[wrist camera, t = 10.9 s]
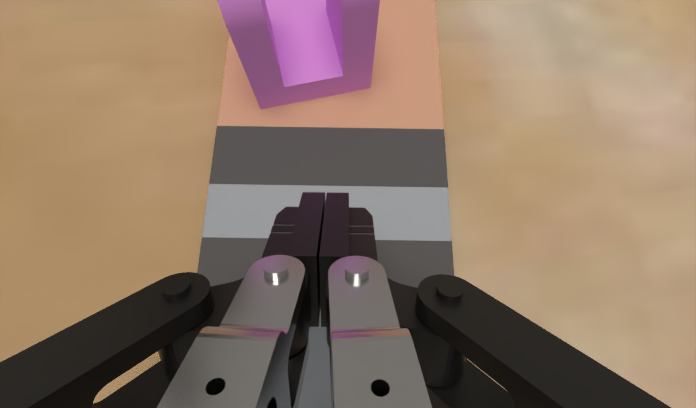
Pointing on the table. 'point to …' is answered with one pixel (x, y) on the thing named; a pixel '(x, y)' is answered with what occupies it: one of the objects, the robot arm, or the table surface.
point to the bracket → (303, 46)
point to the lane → (338, 166)
